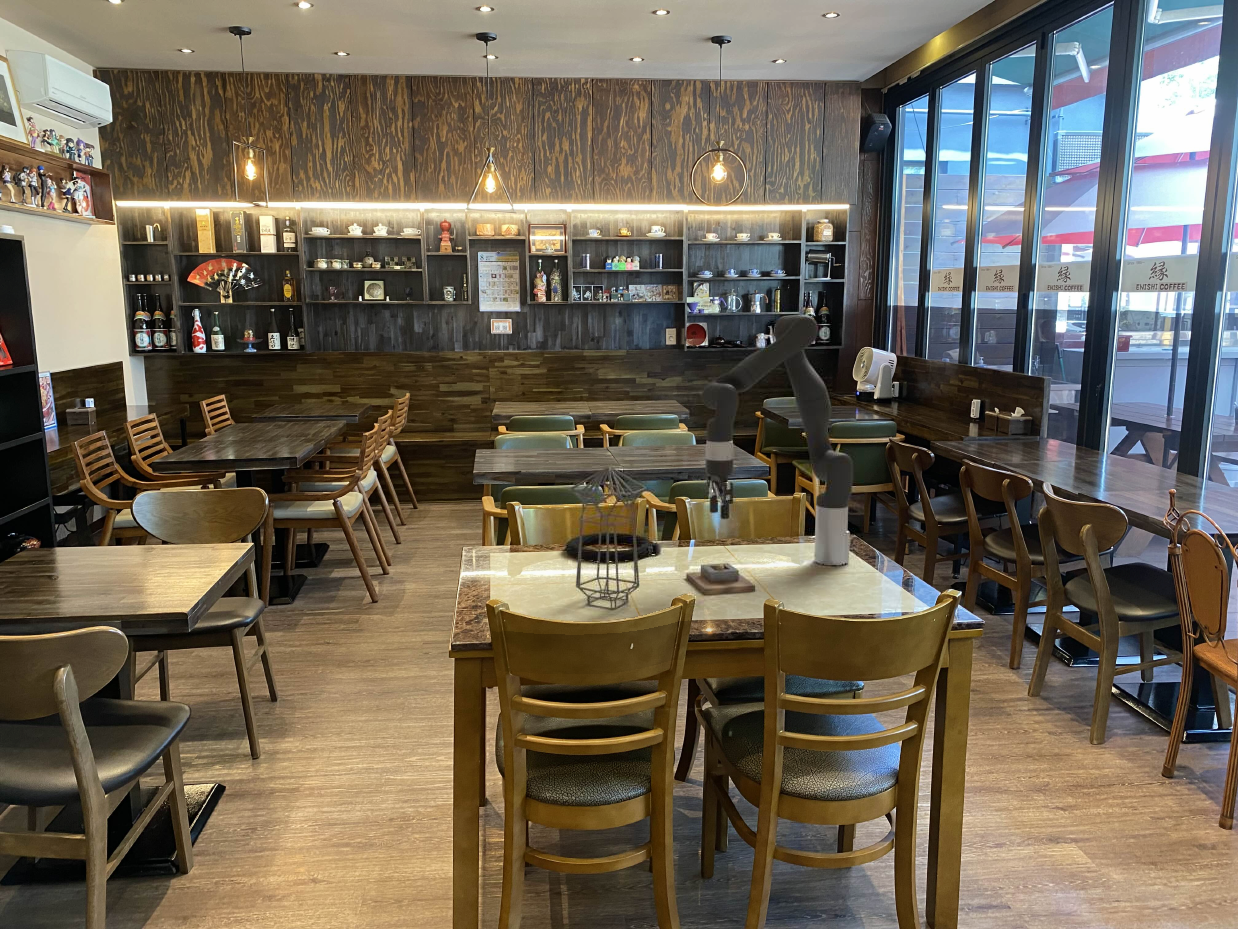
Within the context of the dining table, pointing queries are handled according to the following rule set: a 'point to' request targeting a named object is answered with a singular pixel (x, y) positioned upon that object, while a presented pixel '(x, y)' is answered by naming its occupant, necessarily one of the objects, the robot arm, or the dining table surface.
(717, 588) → the keeper block
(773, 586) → the dining table surface
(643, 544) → the black studded ring
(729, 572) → the grey square frame
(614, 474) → the geometric lantern
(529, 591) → the dining table surface
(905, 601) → the dining table surface
